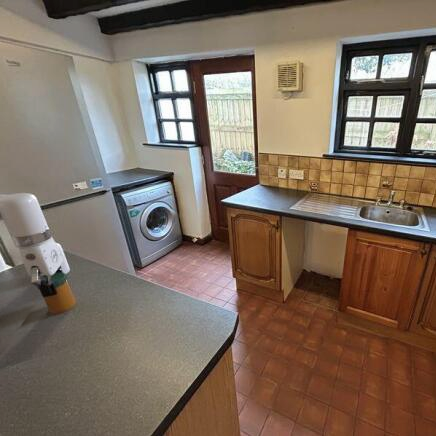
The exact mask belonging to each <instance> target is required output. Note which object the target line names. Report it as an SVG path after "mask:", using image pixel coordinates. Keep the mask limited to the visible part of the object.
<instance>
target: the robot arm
mask: <svg viewBox="0 0 436 436" xmlns="http://www.w3.org/2000/svg"><path fill="white" fill-rule="evenodd" d="M0 221H3V223H4V225H5V227H6V229H7V232H8V233H9V236H10V238H11V240H12V242H13V244H14V246H15V248H16V249H17V248H18V250H19V254H20V257H21V261H22V263H23V266H24V268H25V271H26V272H27V274H28V276H29V278H30V279H31V284H32V285H33V286H36V288H37V287H39V289H38V290H39V293H40V295H41V296H42V298H43V297H48V296H53V295H56V294H57V290H56V288H55V286H54V284H53V283H51V279H50V276H51V275H53V274H54V273H57V272H63V271H62V270H60V269H61V266H60V265H61V263H62V262H63V258H62V255H61V253H60V251H59V249H58V247H57V245H56V243H57V242H56V241H55V239H54V238H53V235H52V232H51V230H50V228H49V226H48V223H47V220H46V218H45V216H44V213H43V211H42V208H41V205H40V203H39V201H38V198H37V197H36V196H35V195H34V194H32V193H29V192H28V193H27V192H20V193H11V194H1V193H0ZM42 273H43V274H44V275H41V274H42ZM43 277H46V281H45V280H41V279H40V278H43Z"/></svg>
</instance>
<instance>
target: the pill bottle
mask: <svg viewBox="0 0 436 436" xmlns="http://www.w3.org/2000/svg"><path fill="white" fill-rule="evenodd" d="M55 243H56V245H57V247H58V249H59V251H60V253H61V255H62V258H63V262H62V263H61V265H60V266H61V269H60V270H62V271H63V273H65V274H66V275H67V274H69V272H70V271H71V269H70V265H69V263H68V260H67V258H66V254H65V252H64V250H63V248H62V245H61V243H58V242H55ZM42 275H44V274H43V273H42V274H40V276H42Z"/></svg>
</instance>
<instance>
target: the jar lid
mask: <svg viewBox="0 0 436 436" xmlns="http://www.w3.org/2000/svg"><path fill="white" fill-rule="evenodd" d="M40 279H41V280H45V281H46V277H43V278H40ZM50 279H51V283H53V284H54V286H55V288H56V287H59V286H61V285H62V284H64V283H65V282H66V281H68V277H67V274H65V273H63V272H57V273H54V274H53V275H51V276H50ZM36 288H37V290H39V287H37V286H36Z"/></svg>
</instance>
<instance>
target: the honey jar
mask: <svg viewBox="0 0 436 436" xmlns="http://www.w3.org/2000/svg"><path fill="white" fill-rule="evenodd" d="M56 290H57V294H56V295H53V296H48V297H43V296H42V299H43V300H44V303H45V305H46V307H47V309H48V311H49V313H50V314H52V315H59V314H62V313H65V312H67V311H70V310H71V309H73V307H74V306H75V305H76V304H77V301H76V298H75V296H74V294H73V291H72V289H71V286H70V284H69V282H68V280H67V281H66V282H65V283H64V284H62V285H61V286H59V287H56Z"/></svg>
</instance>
